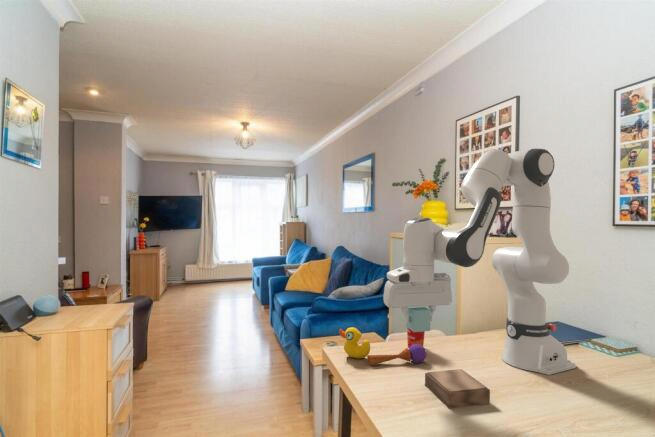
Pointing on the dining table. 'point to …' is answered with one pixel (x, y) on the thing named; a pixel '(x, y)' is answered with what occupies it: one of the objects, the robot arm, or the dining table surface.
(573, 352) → the dining table surface
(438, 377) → the walnut base
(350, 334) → the duckling
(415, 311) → the teal block
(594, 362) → the dining table surface
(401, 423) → the dining table surface
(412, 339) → the paper cup
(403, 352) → the kendama
